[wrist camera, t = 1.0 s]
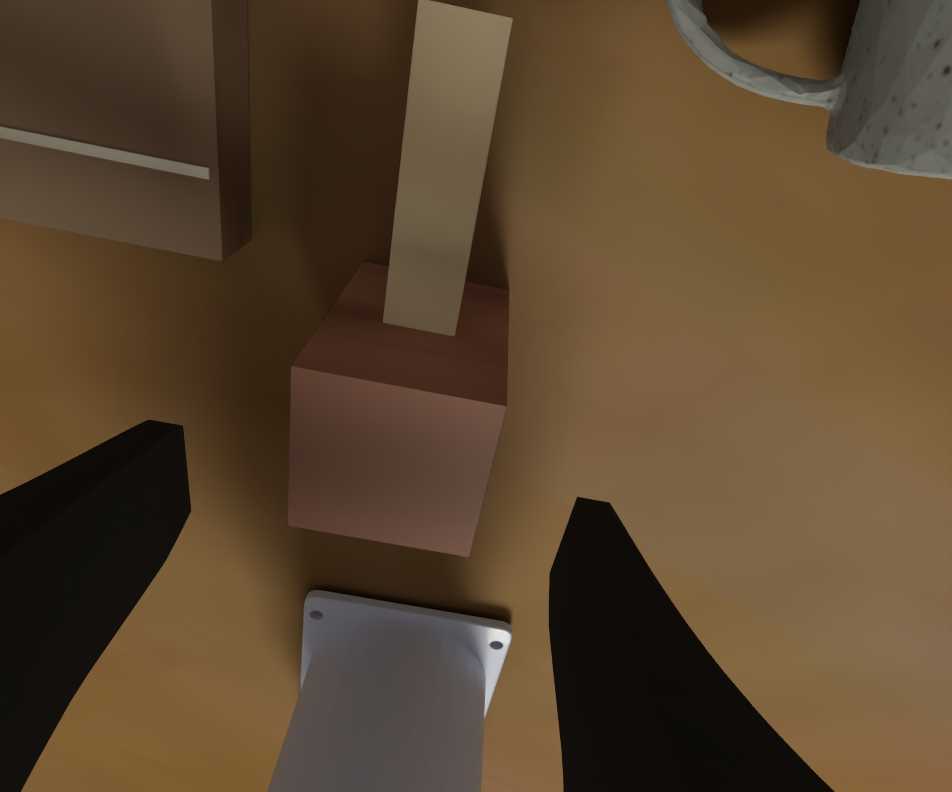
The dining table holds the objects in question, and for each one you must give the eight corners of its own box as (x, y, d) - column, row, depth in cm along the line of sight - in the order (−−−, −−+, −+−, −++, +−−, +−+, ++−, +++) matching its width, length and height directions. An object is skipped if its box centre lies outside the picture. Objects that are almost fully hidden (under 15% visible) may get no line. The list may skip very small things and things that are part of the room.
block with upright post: (481, 410, 18) (468, 556, 13) (352, 387, 18) (287, 526, 13) (566, 35, 13) (600, 30, 8) (386, -4, 13) (300, -35, 8)
